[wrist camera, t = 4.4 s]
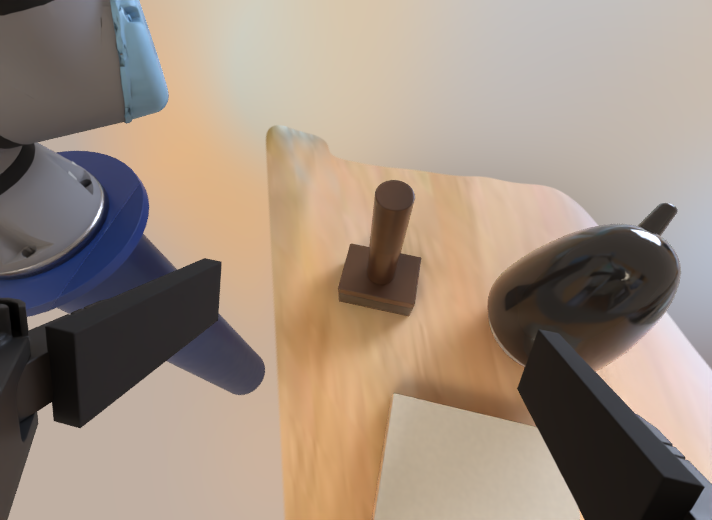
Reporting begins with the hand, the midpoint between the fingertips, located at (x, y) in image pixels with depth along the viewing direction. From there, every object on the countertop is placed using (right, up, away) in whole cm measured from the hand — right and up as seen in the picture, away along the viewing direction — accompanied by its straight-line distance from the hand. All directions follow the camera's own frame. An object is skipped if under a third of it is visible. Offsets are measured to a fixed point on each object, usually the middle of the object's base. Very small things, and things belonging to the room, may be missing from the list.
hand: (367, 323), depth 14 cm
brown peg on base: (+2, 0, +20) cm, 20 cm away
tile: (+8, -16, +12) cm, 21 cm away
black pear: (+16, -4, +18) cm, 25 cm away
